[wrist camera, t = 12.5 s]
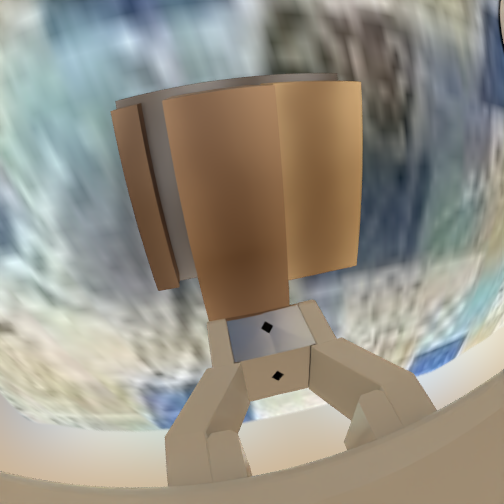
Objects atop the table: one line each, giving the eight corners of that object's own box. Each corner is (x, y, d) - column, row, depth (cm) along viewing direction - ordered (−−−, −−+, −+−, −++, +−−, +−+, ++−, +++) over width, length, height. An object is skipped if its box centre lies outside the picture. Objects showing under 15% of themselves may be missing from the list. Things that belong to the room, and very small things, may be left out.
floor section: (330, 73, 17) (360, 73, 14) (333, 243, 24) (355, 271, 21) (119, 100, 16) (101, 104, 13) (162, 276, 23) (159, 310, 19)
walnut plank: (248, 85, 16) (274, 84, 11) (266, 258, 23) (289, 313, 17) (171, 96, 16) (162, 100, 11) (204, 270, 22) (211, 329, 17)
